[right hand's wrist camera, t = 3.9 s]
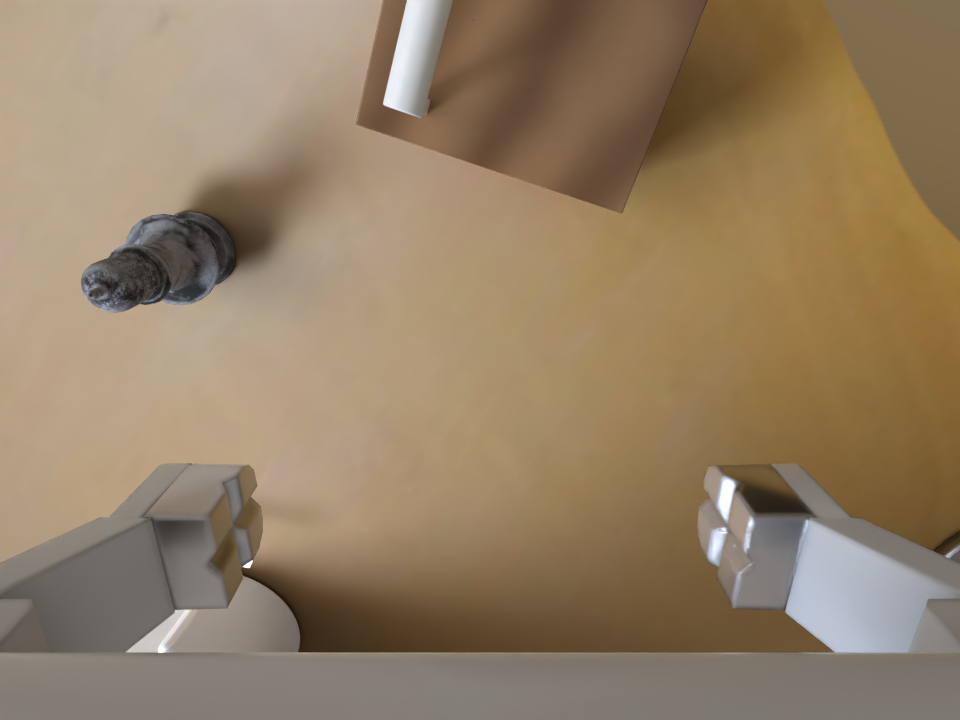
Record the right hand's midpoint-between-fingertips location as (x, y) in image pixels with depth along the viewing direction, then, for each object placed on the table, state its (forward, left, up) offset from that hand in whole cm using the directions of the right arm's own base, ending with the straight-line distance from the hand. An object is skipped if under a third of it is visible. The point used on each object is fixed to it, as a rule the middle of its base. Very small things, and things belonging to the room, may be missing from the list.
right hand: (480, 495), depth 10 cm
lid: (+3, +9, -22) cm, 24 cm away
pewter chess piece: (-20, 0, -32) cm, 37 cm away
